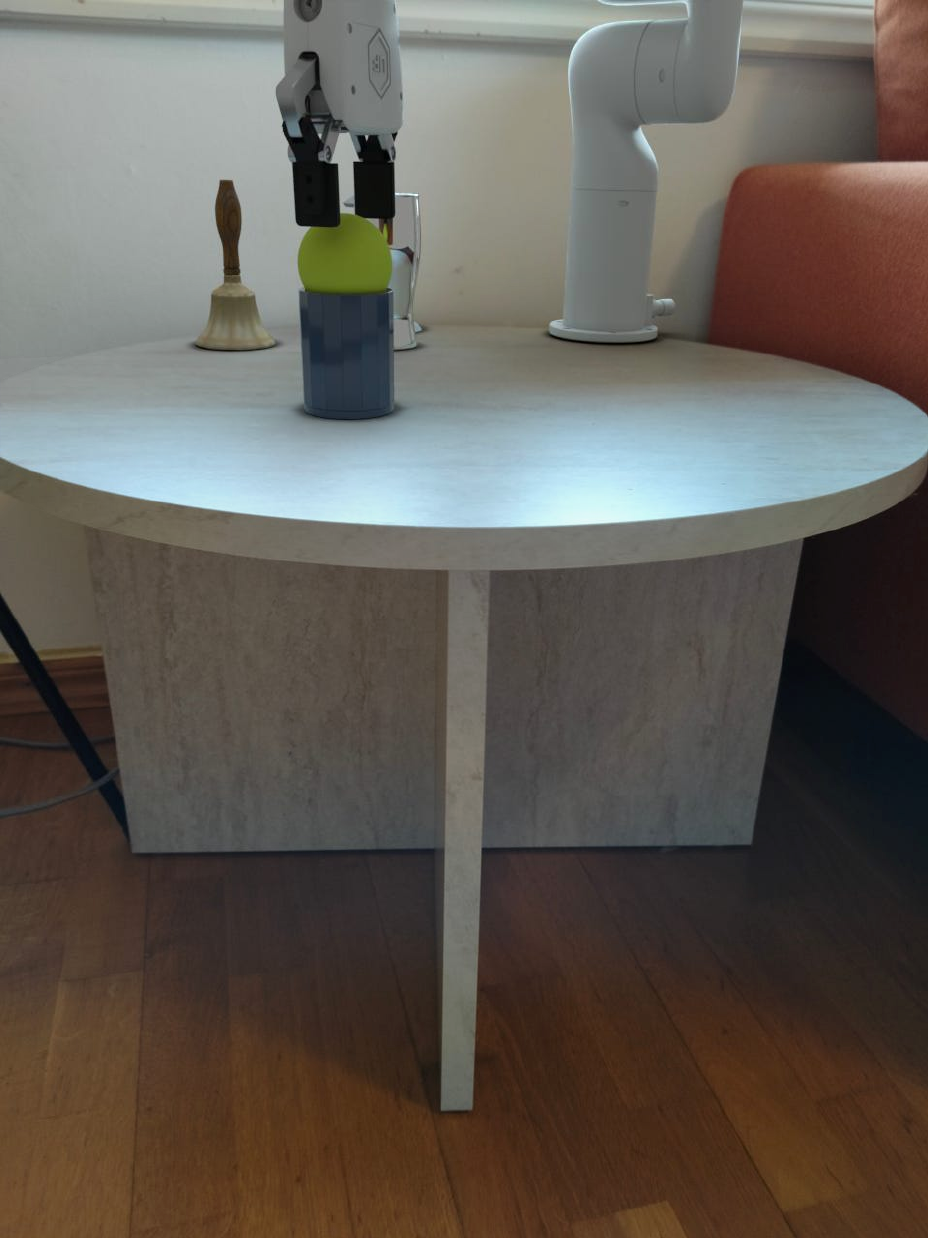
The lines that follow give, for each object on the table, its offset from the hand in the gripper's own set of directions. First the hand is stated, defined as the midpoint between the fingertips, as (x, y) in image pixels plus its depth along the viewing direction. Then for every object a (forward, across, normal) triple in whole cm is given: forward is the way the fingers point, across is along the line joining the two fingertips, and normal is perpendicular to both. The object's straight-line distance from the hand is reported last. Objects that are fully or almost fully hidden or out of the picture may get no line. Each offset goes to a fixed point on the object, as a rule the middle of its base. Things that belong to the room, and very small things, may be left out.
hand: (348, 221), depth 72 cm
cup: (+14, -1, 0) cm, 14 cm away
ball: (+3, -1, 0) cm, 3 cm away
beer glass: (+14, +29, +9) cm, 33 cm away
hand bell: (+14, +22, +24) cm, 36 cm away
